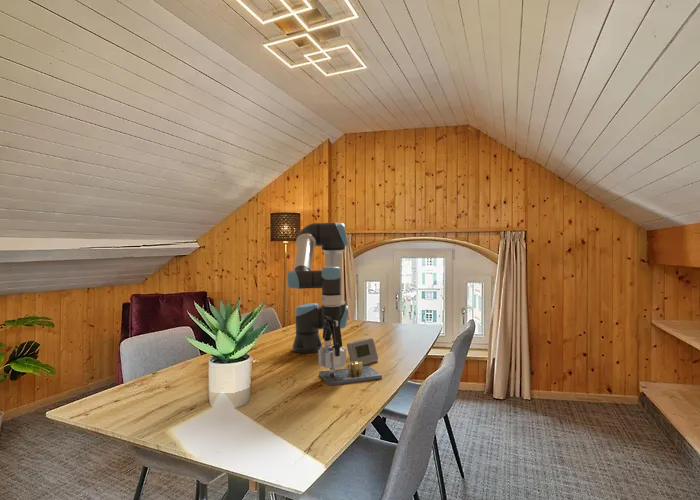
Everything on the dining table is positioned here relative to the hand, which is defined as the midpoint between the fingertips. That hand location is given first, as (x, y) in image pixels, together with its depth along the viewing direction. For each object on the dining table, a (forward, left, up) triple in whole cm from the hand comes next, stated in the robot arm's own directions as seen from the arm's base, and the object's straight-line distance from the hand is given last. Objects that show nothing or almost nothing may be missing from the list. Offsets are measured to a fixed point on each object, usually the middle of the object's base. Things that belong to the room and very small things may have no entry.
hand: (332, 360), depth 170 cm
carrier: (0, +8, -8) cm, 11 cm away
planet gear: (0, 0, -2) cm, 2 cm away
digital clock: (-16, +19, -8) cm, 26 cm away
